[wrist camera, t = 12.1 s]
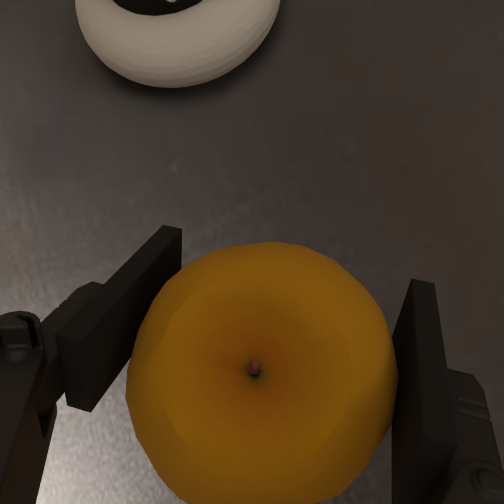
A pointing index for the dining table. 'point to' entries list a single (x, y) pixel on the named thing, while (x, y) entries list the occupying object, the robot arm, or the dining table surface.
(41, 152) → the dining table surface
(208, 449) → the apple
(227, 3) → the decorative figurine
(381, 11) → the dining table surface
